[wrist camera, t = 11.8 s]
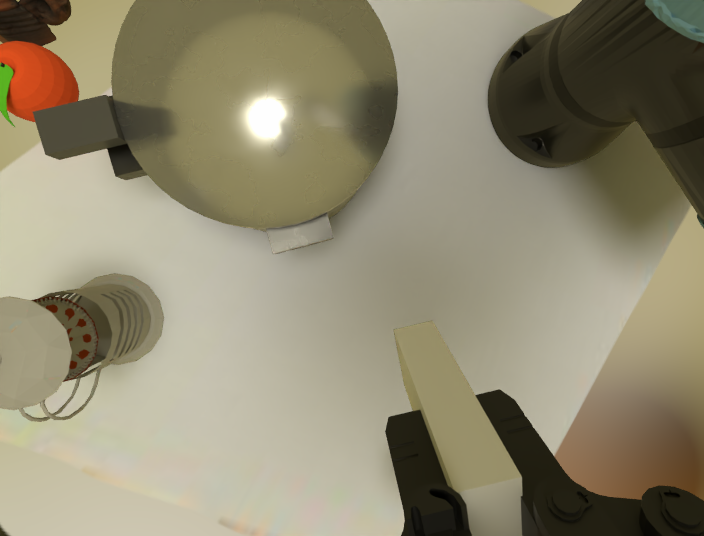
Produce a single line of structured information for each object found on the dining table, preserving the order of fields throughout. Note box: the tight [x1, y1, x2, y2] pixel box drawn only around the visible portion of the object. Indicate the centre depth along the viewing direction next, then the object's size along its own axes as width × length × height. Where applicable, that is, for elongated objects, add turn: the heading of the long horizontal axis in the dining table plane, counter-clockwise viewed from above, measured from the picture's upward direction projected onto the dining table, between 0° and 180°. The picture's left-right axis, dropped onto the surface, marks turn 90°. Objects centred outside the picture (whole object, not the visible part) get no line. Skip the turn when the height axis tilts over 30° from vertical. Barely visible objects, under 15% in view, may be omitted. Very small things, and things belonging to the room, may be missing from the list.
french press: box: [0, 274, 164, 422], centre depth 28 cm, size 10×12×25 cm
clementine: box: [0, 41, 79, 126], centre depth 36 cm, size 8×7×7 cm
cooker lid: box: [33, 0, 398, 229], centre depth 28 cm, size 26×21×2 cm
